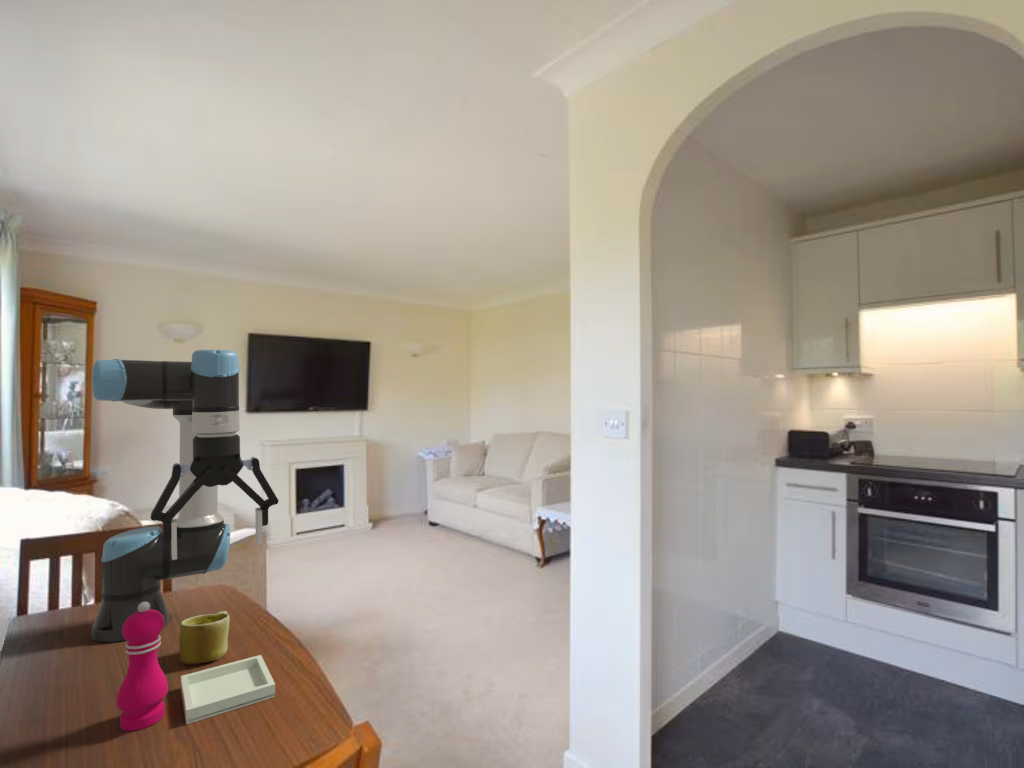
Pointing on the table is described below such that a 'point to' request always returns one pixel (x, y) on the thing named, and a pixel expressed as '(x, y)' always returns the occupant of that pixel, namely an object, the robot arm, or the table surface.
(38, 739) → the table surface
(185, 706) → the tray
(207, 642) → the mug
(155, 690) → the pepper mill
